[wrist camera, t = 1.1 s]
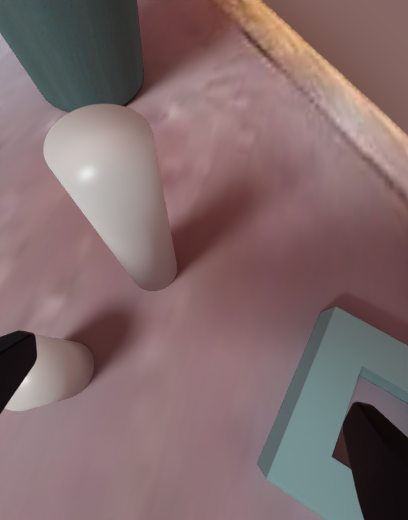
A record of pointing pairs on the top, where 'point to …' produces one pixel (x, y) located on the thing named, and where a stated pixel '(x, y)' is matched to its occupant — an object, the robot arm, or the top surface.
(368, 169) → the top surface
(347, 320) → the collar
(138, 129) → the long pin
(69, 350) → the short pin
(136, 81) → the flower pot
